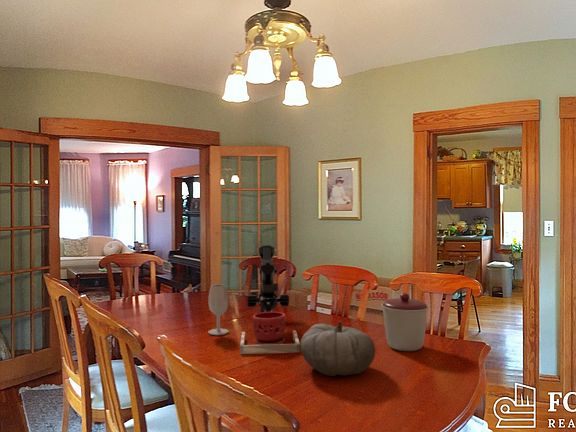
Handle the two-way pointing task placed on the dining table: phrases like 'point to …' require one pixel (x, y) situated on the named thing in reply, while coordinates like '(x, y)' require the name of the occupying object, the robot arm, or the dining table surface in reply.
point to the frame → (270, 347)
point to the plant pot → (269, 327)
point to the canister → (405, 322)
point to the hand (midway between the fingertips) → (268, 317)
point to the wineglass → (218, 305)
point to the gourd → (337, 349)
